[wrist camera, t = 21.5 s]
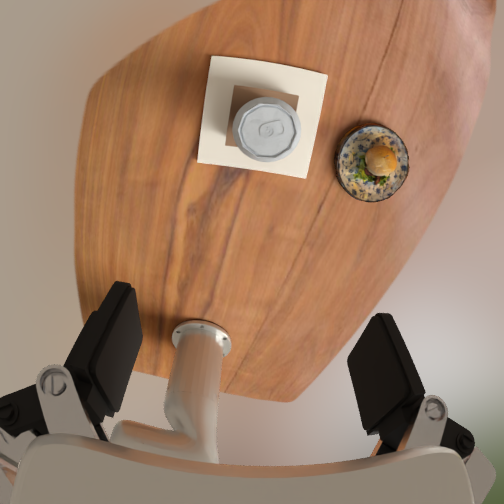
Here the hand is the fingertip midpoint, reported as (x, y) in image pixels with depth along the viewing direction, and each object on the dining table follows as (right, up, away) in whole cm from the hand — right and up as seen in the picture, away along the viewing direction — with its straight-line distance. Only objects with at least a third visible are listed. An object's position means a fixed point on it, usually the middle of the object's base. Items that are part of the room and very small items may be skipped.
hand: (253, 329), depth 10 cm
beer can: (+1, +17, +17) cm, 24 cm away
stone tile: (+1, +21, +23) cm, 31 cm away
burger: (+17, +16, +26) cm, 35 cm away
